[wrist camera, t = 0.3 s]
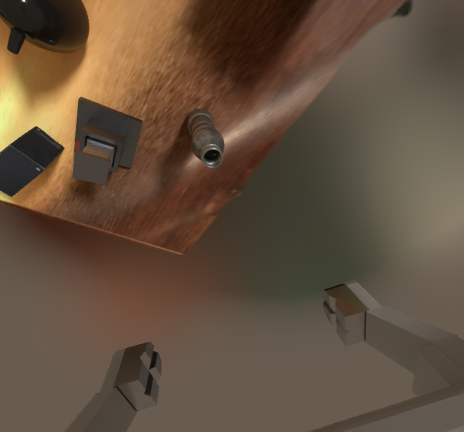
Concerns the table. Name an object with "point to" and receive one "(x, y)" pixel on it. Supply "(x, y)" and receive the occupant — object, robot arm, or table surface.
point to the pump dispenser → (46, 24)
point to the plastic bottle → (205, 138)
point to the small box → (26, 159)
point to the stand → (107, 130)
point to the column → (94, 161)
